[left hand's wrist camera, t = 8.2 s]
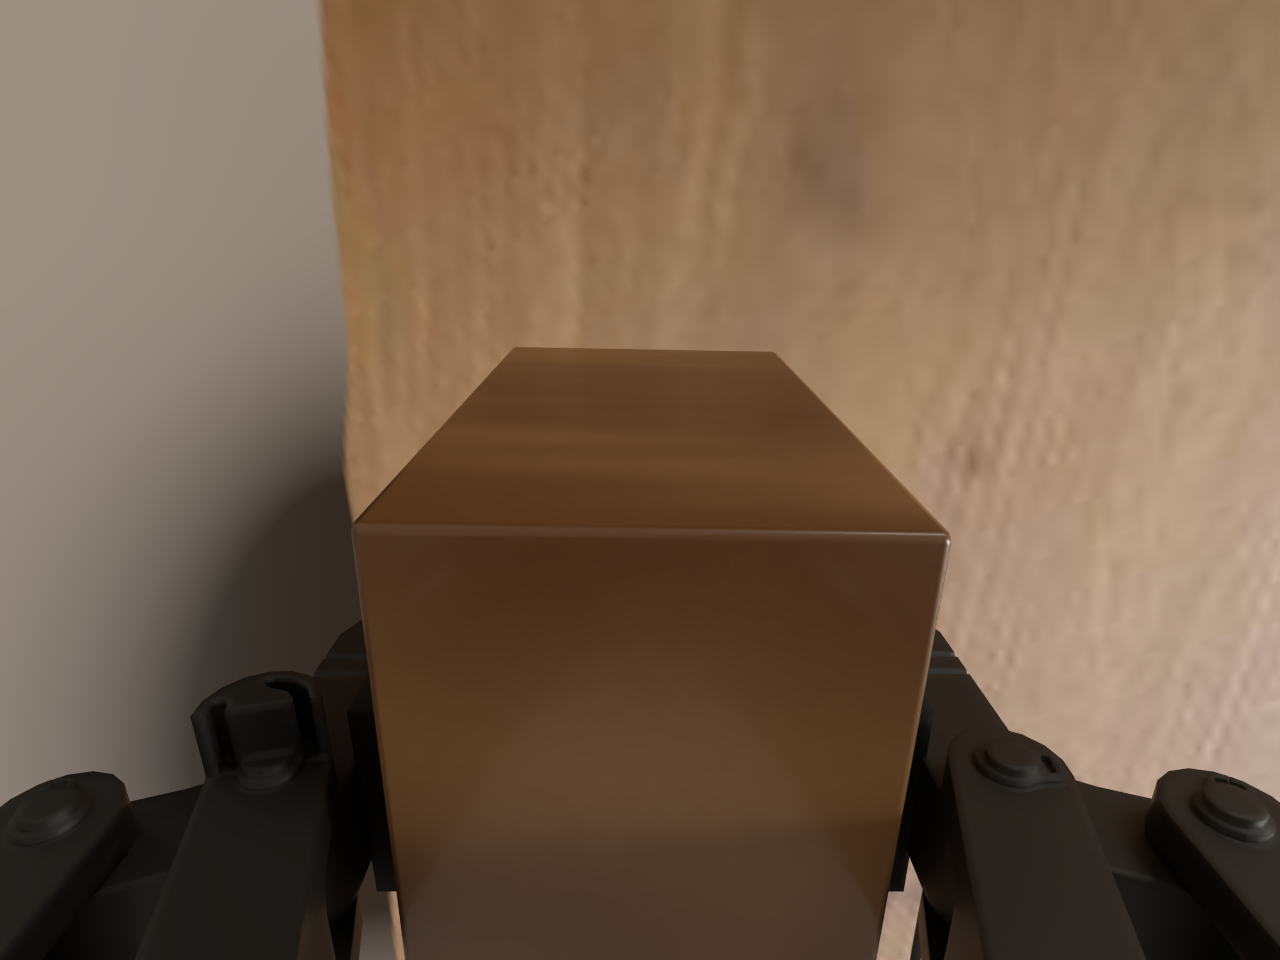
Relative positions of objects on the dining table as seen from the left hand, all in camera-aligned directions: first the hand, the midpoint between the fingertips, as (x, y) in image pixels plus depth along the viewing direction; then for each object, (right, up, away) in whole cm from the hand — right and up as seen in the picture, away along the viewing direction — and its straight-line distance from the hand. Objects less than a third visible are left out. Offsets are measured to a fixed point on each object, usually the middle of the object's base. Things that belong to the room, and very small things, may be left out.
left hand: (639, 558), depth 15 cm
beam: (0, -20, +8) cm, 22 cm away
